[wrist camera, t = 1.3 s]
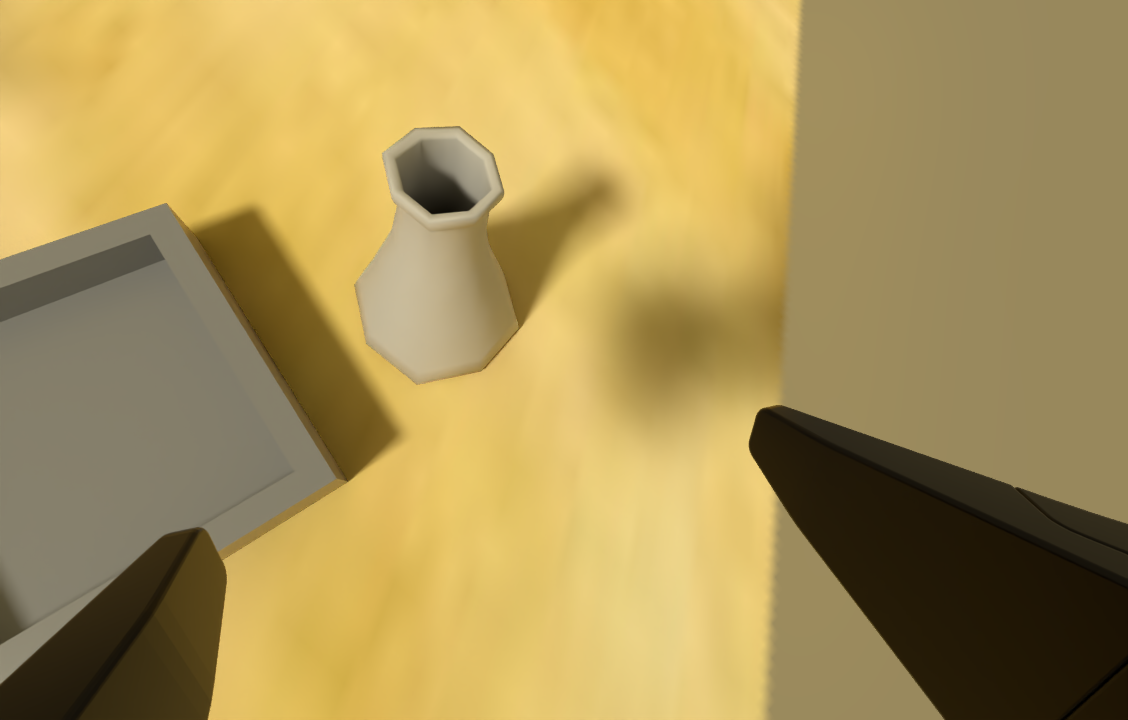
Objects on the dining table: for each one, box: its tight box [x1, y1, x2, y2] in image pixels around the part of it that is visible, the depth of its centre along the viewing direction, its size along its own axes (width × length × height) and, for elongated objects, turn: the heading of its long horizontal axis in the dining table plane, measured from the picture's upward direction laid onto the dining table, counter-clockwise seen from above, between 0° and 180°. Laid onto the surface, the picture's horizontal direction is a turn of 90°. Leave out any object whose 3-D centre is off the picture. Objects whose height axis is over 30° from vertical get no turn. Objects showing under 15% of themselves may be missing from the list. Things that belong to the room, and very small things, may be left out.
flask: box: [355, 126, 519, 385], centre depth 18 cm, size 7×7×10 cm
